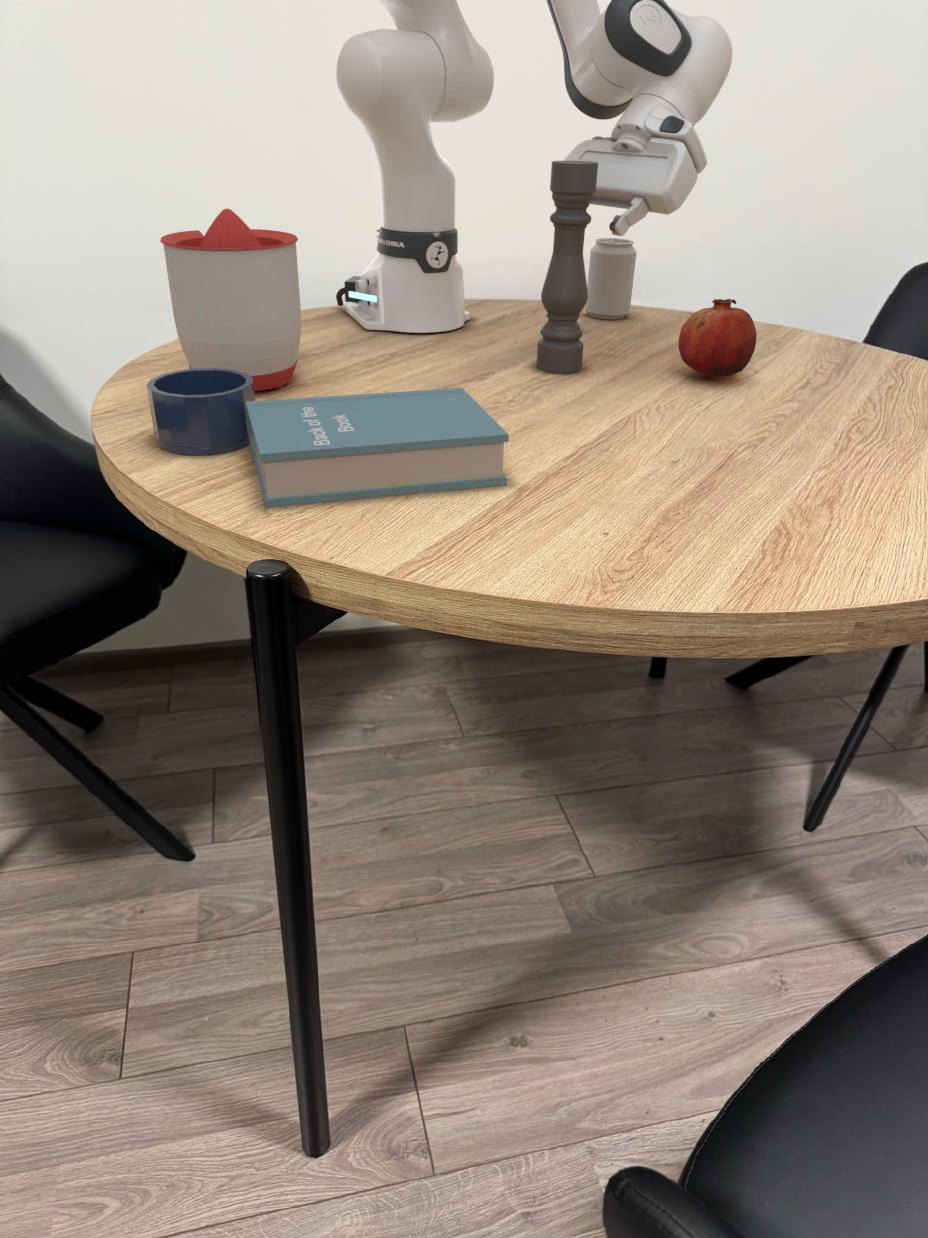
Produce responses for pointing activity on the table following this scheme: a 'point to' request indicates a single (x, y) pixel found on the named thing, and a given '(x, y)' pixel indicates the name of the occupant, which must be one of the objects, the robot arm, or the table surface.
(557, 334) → the candle holder
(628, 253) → the can
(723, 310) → the fruit
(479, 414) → the book
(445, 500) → the table surface
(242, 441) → the socket cup
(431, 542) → the table surface
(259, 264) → the citrus juicer
